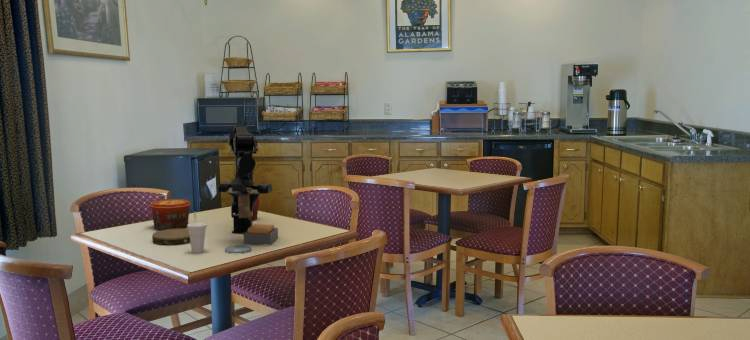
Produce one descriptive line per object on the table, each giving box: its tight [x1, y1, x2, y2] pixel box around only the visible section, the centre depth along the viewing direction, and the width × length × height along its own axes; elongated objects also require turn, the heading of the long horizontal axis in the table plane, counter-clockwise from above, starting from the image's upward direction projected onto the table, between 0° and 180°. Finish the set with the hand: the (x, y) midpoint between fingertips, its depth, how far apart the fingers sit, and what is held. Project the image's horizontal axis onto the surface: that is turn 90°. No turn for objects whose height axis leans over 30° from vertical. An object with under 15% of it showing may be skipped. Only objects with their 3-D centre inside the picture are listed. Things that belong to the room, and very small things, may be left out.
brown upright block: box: [238, 193, 253, 218], centre depth 212 cm, size 4×4×8 cm
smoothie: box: [186, 211, 208, 254], centre depth 200 cm, size 6×6×14 cm
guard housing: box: [243, 227, 279, 245], centre depth 216 cm, size 10×10×4 cm
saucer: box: [224, 244, 252, 254], centre depth 203 cm, size 9×9×1 cm
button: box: [248, 223, 275, 233], centre depth 216 cm, size 8×8×2 cm
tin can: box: [151, 228, 191, 247], centre depth 217 cm, size 16×16×3 cm
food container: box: [148, 198, 192, 231], centre depth 237 cm, size 16×16×11 cm
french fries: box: [247, 190, 260, 222], centre depth 252 cm, size 9×8×15 cm
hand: (245, 211), depth 212 cm, fingers closed on brown upright block, 4 cm apart
